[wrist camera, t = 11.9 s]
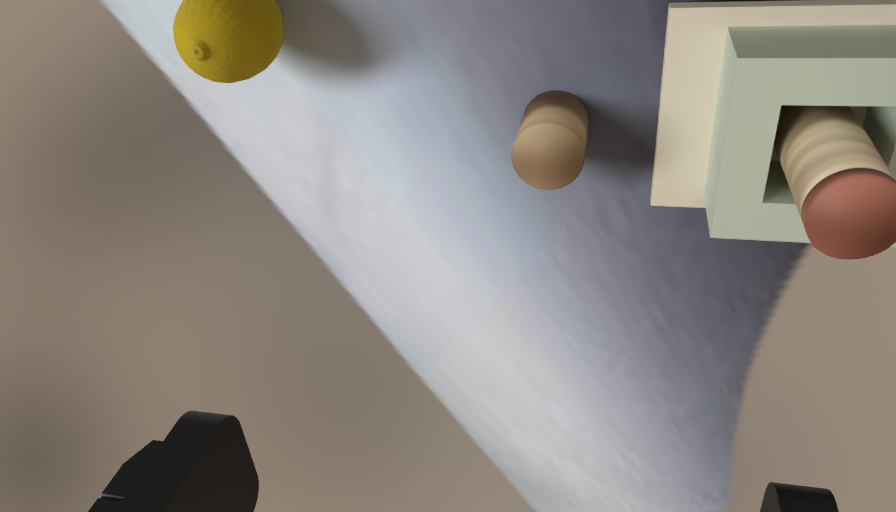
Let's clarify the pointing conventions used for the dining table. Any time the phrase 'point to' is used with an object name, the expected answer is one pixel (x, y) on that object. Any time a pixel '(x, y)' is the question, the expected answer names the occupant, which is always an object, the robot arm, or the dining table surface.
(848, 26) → the socket block
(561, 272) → the dining table surface
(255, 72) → the lemon
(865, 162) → the tall dowel
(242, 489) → the robot arm
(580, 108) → the short dowel
